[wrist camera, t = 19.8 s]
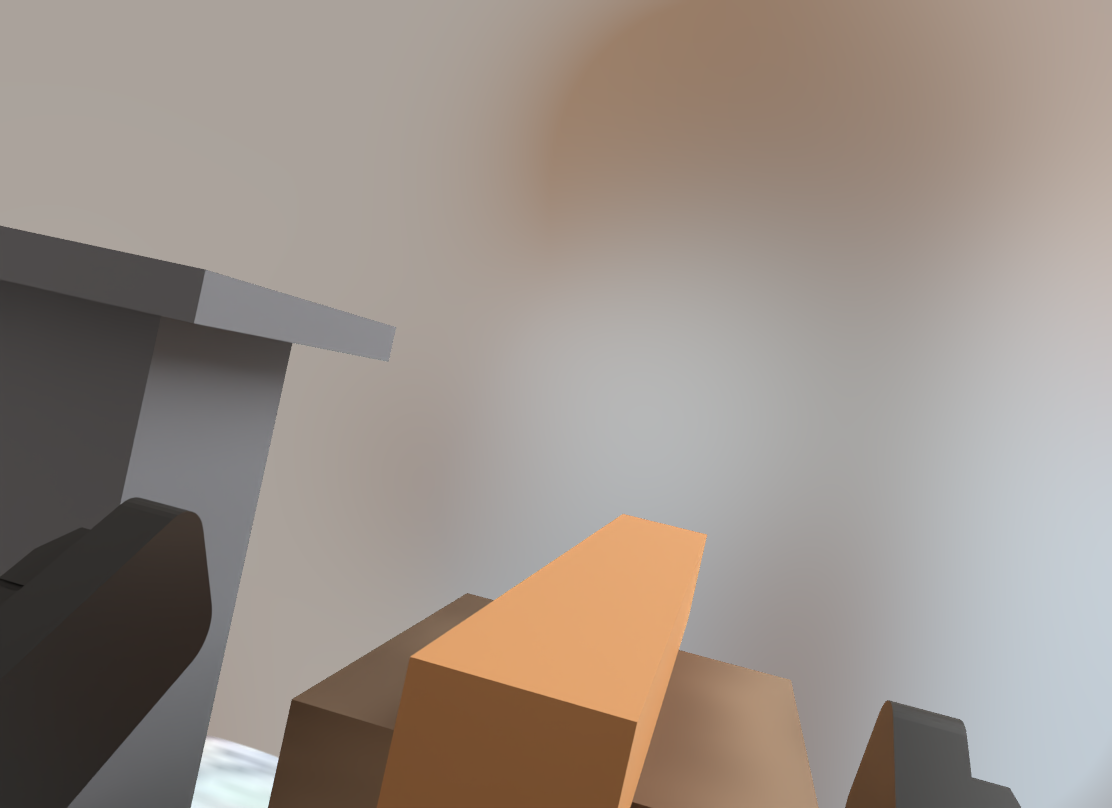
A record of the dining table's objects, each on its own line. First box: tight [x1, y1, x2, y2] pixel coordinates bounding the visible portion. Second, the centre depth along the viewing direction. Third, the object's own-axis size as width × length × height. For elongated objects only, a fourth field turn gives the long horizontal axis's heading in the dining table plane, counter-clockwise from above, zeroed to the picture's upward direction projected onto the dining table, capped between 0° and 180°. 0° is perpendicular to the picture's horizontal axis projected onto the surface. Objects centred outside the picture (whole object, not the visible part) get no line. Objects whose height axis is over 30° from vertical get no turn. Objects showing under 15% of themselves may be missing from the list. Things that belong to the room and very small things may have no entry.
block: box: [377, 514, 707, 808], centre depth 23 cm, size 3×22×3 cm, turn 169°
